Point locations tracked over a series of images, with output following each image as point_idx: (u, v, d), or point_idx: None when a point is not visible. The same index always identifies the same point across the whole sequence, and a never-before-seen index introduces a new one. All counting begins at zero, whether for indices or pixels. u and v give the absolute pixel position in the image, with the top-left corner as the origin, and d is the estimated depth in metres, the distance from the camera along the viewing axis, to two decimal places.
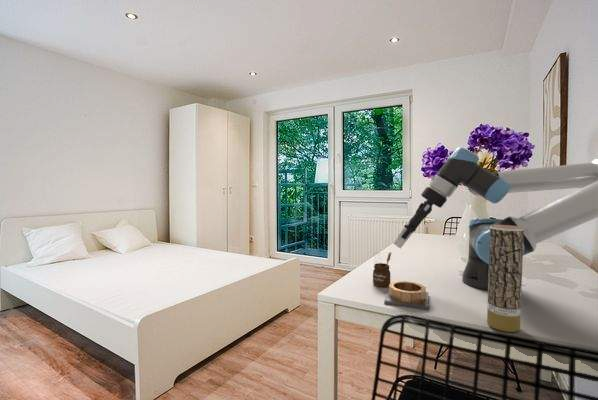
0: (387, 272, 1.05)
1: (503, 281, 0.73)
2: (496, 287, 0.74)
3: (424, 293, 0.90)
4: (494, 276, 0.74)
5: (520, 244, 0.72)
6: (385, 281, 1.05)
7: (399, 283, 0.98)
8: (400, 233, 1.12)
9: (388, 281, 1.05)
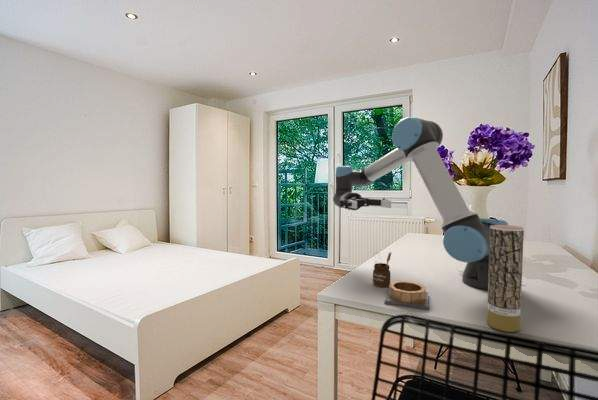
0: (387, 272, 1.05)
1: (503, 281, 0.73)
2: (496, 287, 0.74)
3: (424, 293, 0.90)
4: (494, 276, 0.74)
5: (520, 244, 0.72)
6: (385, 281, 1.05)
7: (399, 283, 0.98)
8: (386, 207, 1.17)
9: (388, 281, 1.05)
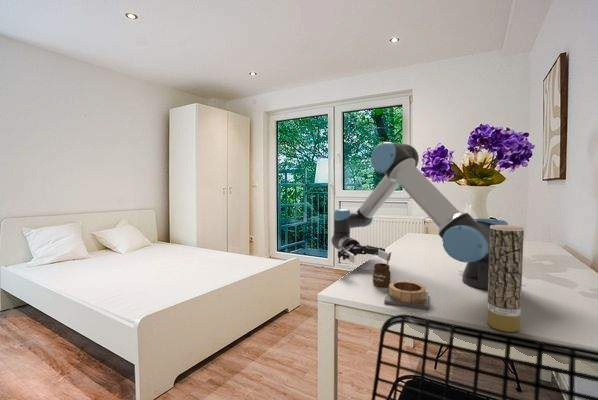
0: (387, 272, 1.05)
1: (503, 281, 0.73)
2: (496, 287, 0.74)
3: (424, 293, 0.90)
4: (494, 276, 0.74)
5: (520, 244, 0.72)
6: (385, 281, 1.05)
7: (399, 283, 0.98)
8: (383, 258, 1.19)
9: (388, 281, 1.05)
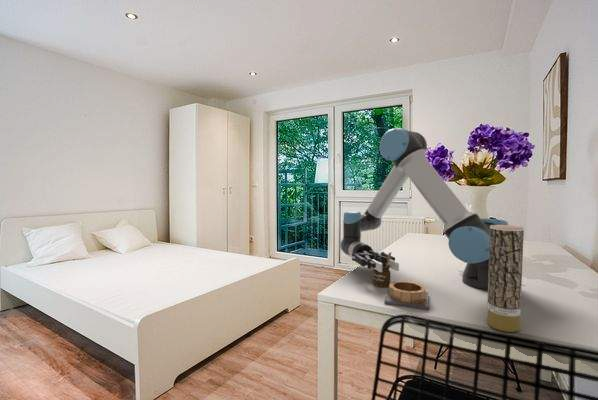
0: (387, 272, 1.05)
1: (503, 281, 0.73)
2: (496, 287, 0.74)
3: (424, 293, 0.90)
4: (494, 276, 0.74)
5: (520, 244, 0.72)
6: (385, 281, 1.05)
7: (399, 283, 0.98)
8: (394, 269, 1.05)
9: (388, 281, 1.05)
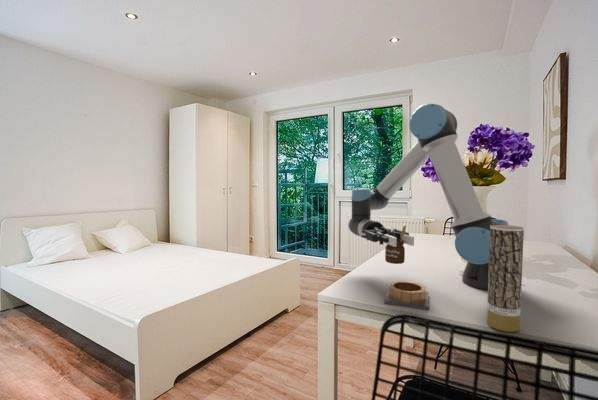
0: (401, 247, 0.96)
1: (503, 281, 0.73)
2: (496, 287, 0.74)
3: (424, 293, 0.90)
4: (494, 276, 0.74)
5: (520, 244, 0.72)
6: (398, 257, 0.96)
7: (399, 283, 0.98)
8: (408, 244, 0.95)
9: (402, 257, 0.96)
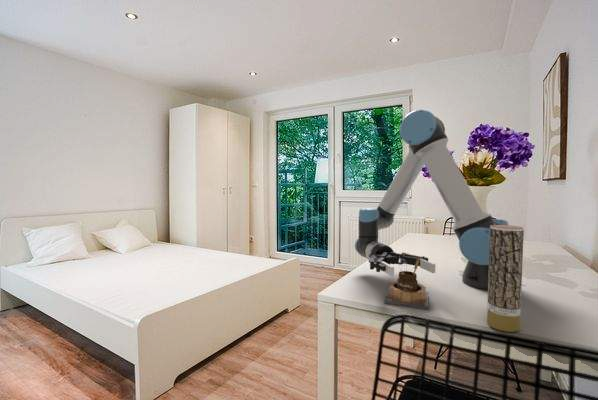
0: (414, 282, 0.92)
1: (503, 281, 0.73)
2: (496, 287, 0.74)
3: (424, 293, 0.90)
4: (494, 276, 0.74)
5: (520, 244, 0.72)
6: None
7: None
8: (429, 270, 0.94)
9: None
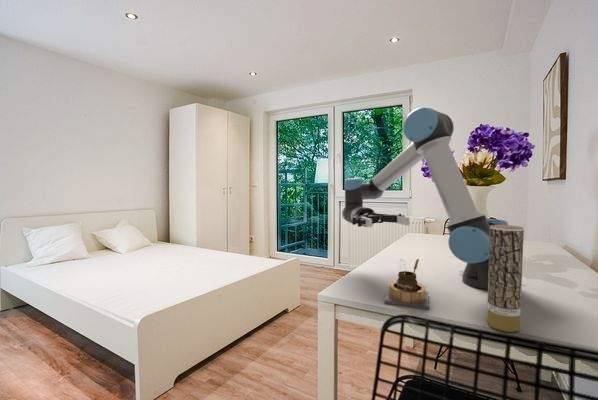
0: (414, 282, 0.92)
1: (503, 281, 0.73)
2: (496, 287, 0.74)
3: (424, 293, 0.90)
4: (494, 276, 0.74)
5: (520, 244, 0.72)
6: None
7: None
8: (404, 224, 1.06)
9: None
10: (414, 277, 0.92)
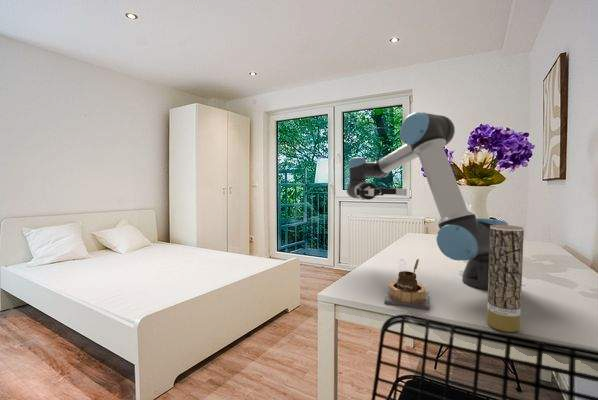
0: (414, 282, 0.92)
1: (503, 281, 0.73)
2: (496, 287, 0.74)
3: (424, 293, 0.90)
4: (494, 276, 0.74)
5: (520, 244, 0.72)
6: None
7: None
8: (402, 195, 1.20)
9: None
10: (414, 277, 0.92)
